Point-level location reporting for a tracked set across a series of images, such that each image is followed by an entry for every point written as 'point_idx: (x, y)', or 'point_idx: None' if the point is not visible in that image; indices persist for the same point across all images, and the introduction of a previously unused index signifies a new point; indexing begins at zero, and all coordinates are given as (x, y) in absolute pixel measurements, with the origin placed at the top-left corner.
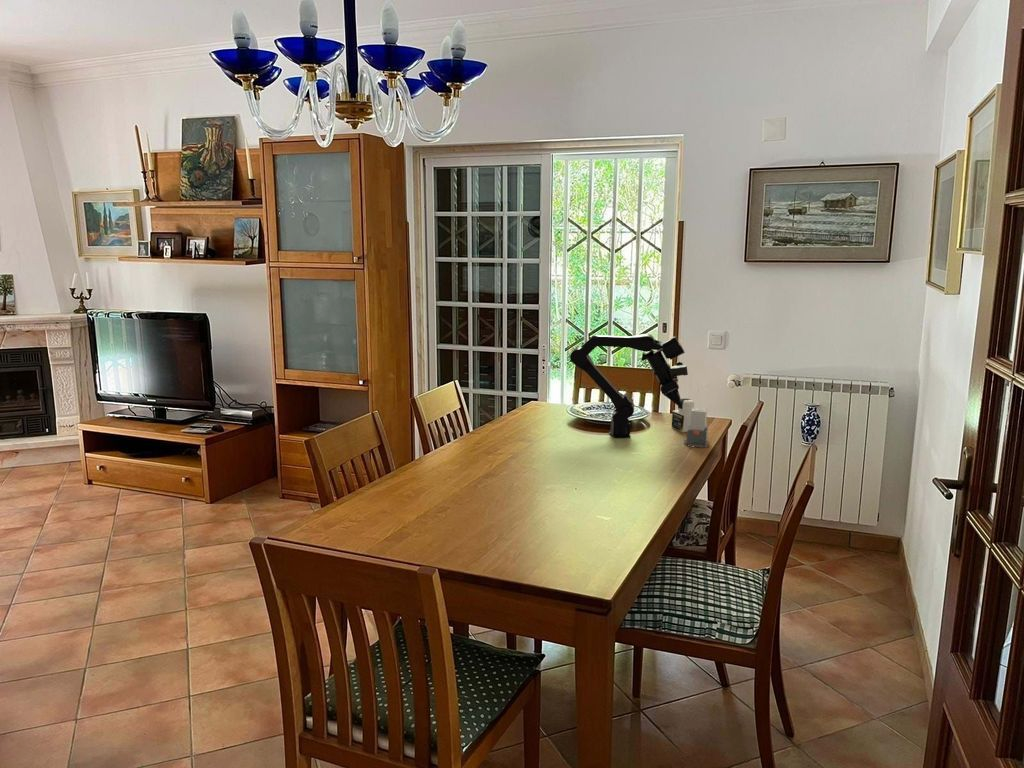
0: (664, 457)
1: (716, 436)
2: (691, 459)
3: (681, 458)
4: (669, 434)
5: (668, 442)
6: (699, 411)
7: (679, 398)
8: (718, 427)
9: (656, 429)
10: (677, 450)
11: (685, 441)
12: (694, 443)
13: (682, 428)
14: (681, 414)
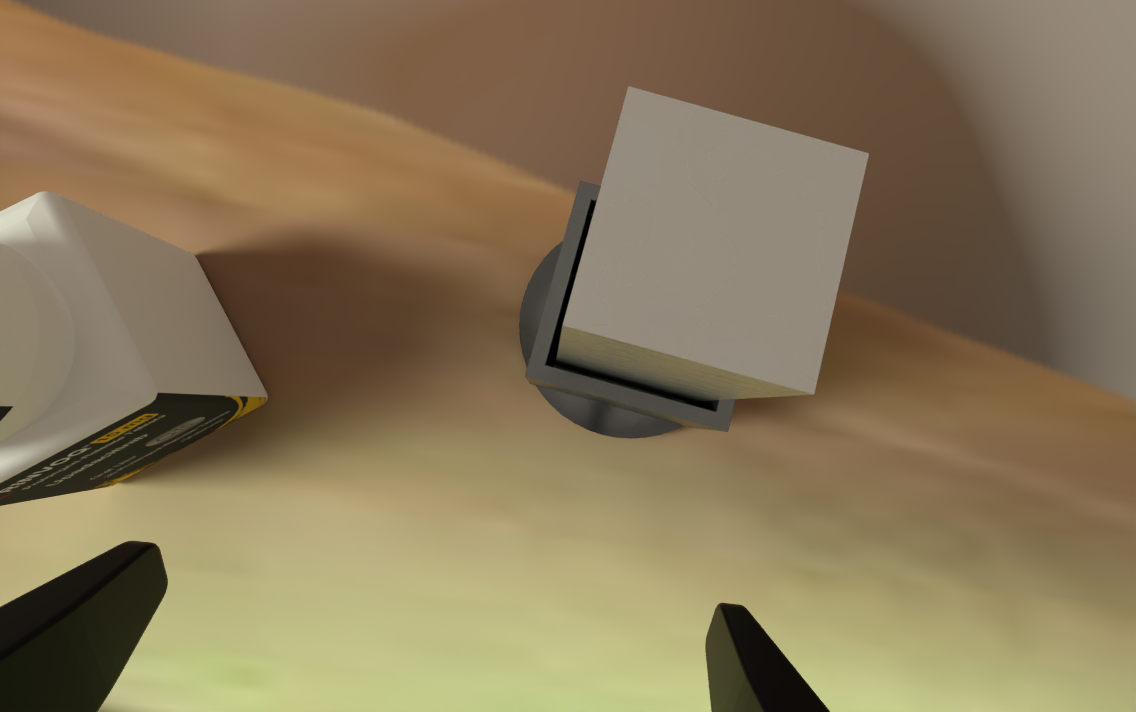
0: (1049, 661)
1: (362, 117)
2: (1054, 441)
3: (1046, 519)
4: (342, 532)
5: (607, 574)
6: (843, 255)
7: (139, 574)
8: (56, 39)
9: (173, 643)
10: (834, 523)
11: (627, 426)
12: None
13: (247, 402)
14: (113, 420)
